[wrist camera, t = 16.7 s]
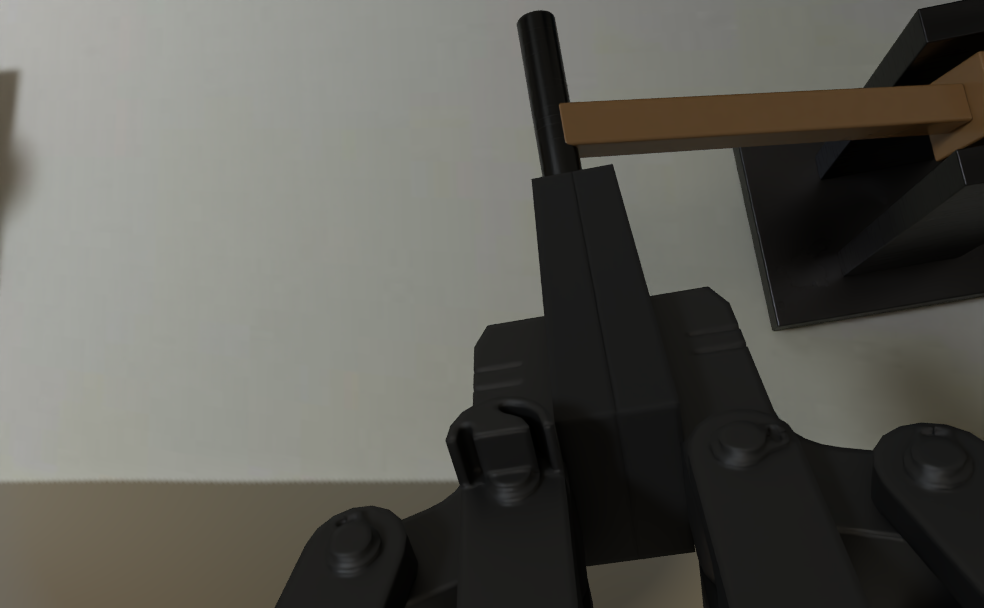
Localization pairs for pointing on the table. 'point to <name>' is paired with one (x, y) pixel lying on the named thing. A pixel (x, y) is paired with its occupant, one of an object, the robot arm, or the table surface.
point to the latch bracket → (873, 201)
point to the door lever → (738, 112)
